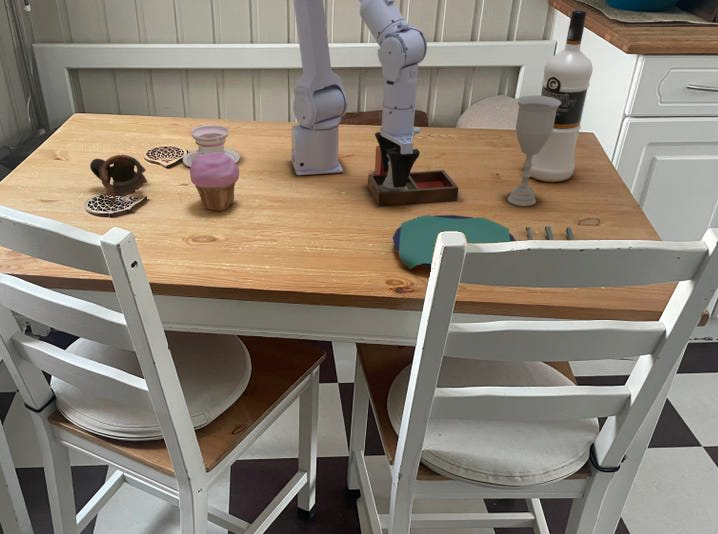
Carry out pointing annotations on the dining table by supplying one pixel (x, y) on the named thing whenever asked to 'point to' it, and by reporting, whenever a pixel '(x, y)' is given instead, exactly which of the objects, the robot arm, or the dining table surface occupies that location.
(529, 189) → the chalice
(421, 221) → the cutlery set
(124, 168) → the pottery mug
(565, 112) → the vodka
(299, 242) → the dining table surface
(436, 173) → the tray
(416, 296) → the dining table surface
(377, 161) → the brick-red block
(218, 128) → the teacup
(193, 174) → the cupcake
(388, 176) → the rook chess piece
